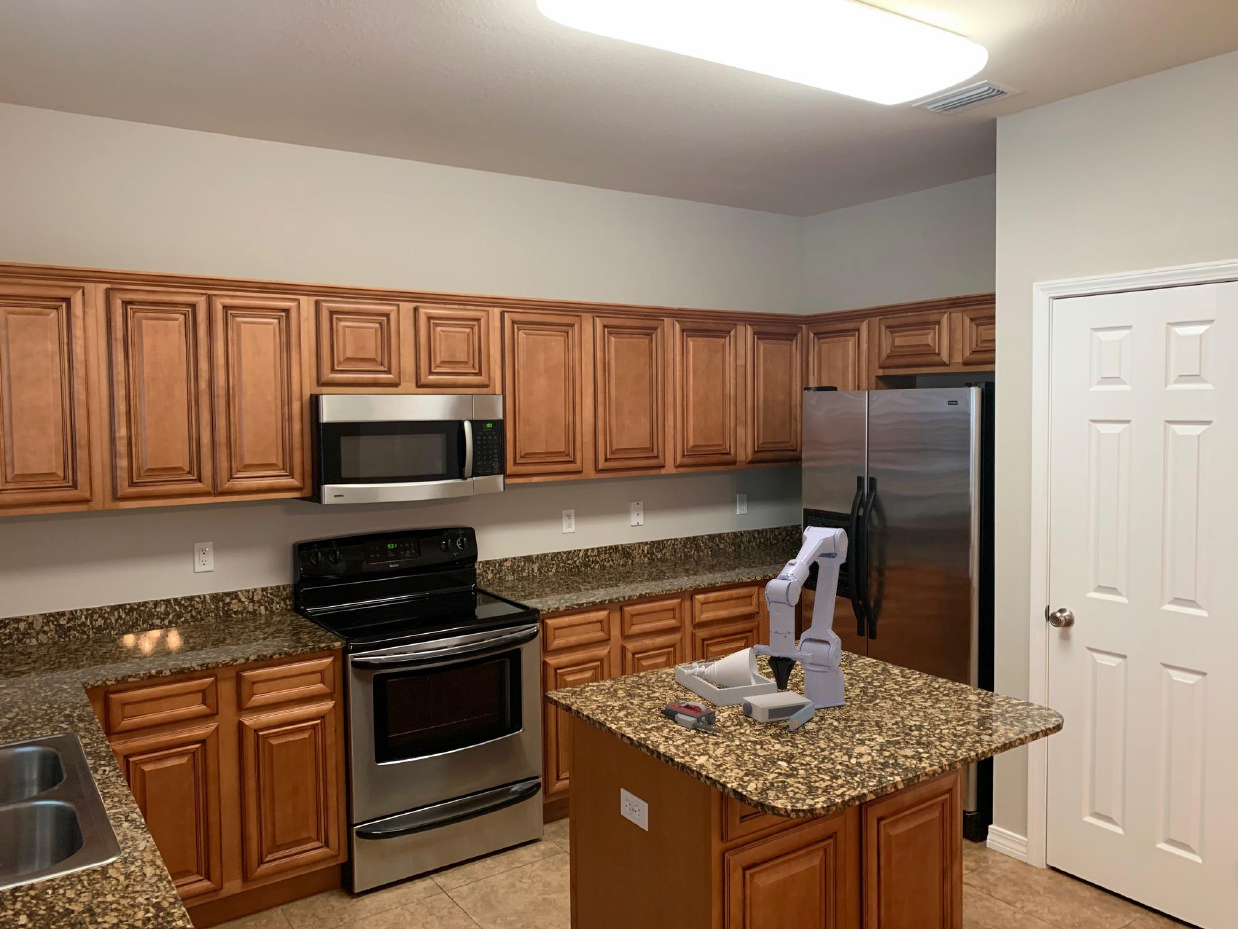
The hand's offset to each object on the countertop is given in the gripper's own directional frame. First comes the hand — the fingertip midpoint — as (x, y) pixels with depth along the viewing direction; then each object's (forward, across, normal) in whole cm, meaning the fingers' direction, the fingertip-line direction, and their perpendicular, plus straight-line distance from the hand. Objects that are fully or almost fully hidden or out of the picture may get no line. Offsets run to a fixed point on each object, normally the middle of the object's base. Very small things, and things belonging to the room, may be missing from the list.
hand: (782, 689), depth 218 cm
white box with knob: (+8, -5, +6) cm, 12 cm away
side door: (+8, +4, +3) cm, 9 cm away
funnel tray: (+8, -26, +16) cm, 32 cm away
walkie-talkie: (+9, -16, -11) cm, 22 cm away
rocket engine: (+8, -26, +15) cm, 31 cm away
